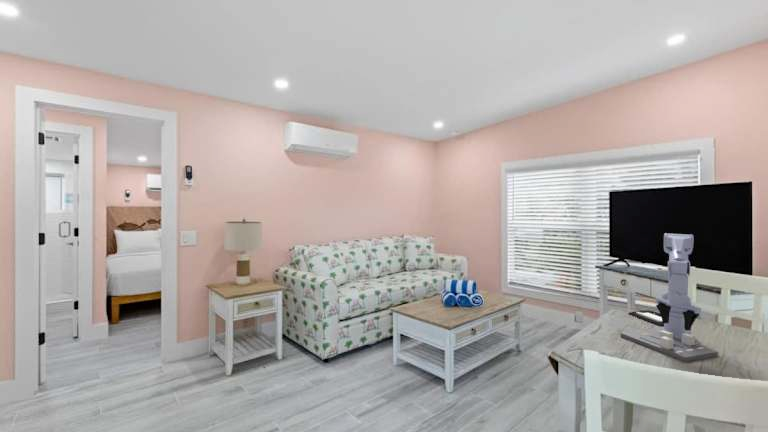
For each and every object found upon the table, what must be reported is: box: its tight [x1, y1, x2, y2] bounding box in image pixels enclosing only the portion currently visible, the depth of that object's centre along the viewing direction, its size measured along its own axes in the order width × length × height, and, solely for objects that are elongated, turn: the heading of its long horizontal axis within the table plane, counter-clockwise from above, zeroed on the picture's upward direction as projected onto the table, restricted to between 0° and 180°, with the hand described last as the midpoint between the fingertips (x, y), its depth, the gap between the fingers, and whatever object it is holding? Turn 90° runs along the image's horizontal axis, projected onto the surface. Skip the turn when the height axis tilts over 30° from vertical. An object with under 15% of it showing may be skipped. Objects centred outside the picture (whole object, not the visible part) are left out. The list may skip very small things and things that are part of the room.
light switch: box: [627, 309, 664, 327], centre depth 167 cm, size 20×3×14 cm
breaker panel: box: [620, 328, 719, 362], centre depth 136 cm, size 18×24×5 cm
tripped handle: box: [659, 330, 673, 339], centre depth 136 cm, size 3×3×4 cm
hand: (676, 326), depth 131 cm, fingers open, 7 cm apart
